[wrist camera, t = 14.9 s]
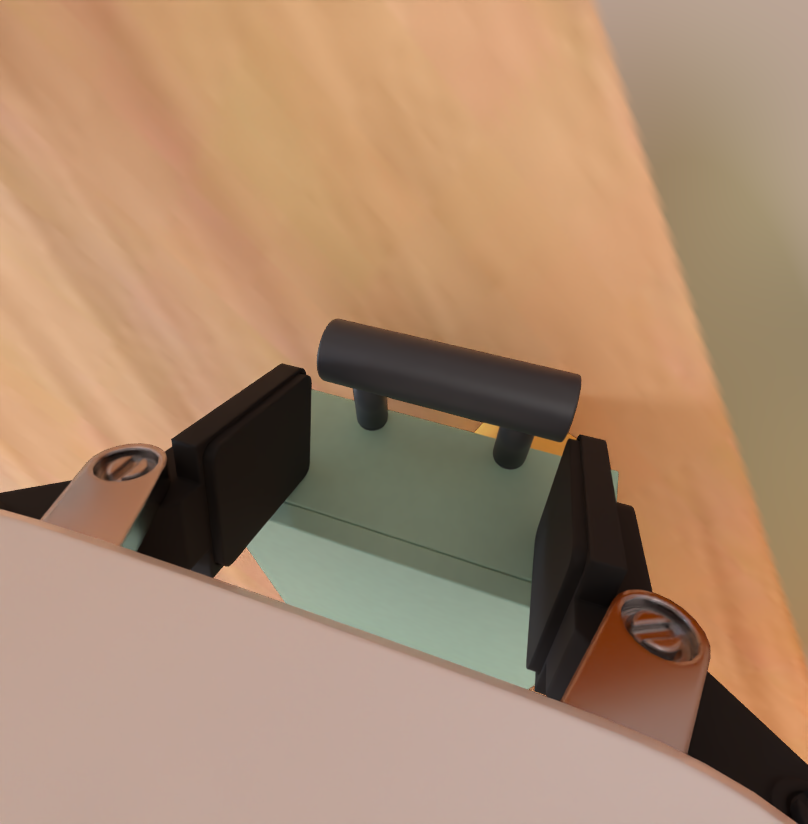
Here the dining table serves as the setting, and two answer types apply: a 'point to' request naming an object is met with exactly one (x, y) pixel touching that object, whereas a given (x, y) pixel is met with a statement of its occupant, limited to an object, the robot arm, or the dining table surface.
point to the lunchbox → (422, 497)
